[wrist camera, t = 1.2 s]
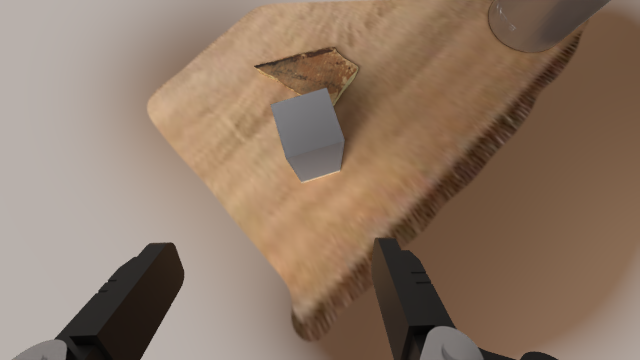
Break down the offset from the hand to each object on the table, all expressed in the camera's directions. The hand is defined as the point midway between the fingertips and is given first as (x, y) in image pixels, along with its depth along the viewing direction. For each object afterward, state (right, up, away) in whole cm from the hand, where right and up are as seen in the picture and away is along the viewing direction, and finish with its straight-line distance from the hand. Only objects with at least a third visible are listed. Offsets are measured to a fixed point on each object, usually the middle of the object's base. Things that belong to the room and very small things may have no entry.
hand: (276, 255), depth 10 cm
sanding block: (+1, +6, +18) cm, 19 cm away
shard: (+1, +14, +21) cm, 25 cm away
